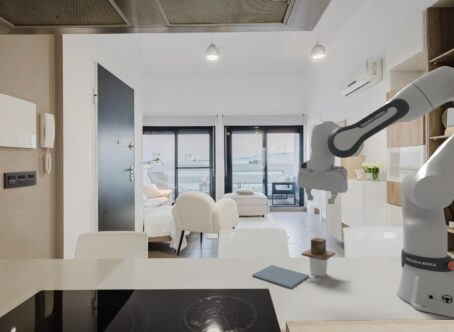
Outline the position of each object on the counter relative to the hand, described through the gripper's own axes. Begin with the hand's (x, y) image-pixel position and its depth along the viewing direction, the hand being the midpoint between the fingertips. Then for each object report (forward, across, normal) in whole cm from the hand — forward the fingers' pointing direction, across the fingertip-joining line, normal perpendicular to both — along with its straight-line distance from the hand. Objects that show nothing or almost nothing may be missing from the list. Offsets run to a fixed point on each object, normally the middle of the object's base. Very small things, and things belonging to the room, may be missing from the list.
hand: (320, 202), depth 109 cm
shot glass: (+27, -1, 0) cm, 27 cm away
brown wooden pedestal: (+20, 0, 0) cm, 20 cm away
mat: (+27, +5, +14) cm, 31 cm away
